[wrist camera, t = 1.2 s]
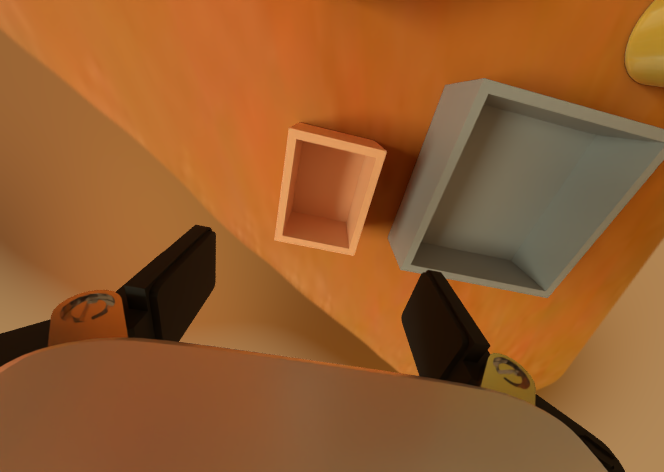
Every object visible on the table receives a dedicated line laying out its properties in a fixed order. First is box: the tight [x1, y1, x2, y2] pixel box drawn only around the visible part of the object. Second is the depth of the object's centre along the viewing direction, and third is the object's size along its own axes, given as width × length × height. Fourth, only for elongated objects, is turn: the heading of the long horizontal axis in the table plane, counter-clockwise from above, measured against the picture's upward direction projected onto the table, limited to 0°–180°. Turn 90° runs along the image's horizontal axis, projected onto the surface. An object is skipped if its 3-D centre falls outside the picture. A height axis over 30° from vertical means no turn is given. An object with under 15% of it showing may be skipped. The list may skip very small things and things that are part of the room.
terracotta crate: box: [274, 122, 387, 256], centre depth 22 cm, size 9×7×6 cm
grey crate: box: [388, 78, 664, 298], centre depth 22 cm, size 15×15×6 cm
